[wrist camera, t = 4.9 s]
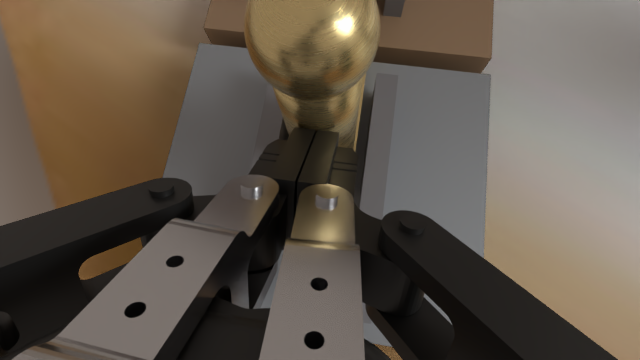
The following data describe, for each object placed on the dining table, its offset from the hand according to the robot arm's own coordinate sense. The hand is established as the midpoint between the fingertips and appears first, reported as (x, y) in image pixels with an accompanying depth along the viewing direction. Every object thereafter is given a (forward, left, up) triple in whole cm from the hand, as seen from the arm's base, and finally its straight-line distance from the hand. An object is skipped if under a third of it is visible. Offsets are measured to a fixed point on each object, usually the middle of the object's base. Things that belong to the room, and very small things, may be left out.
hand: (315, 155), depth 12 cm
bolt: (-3, -3, -6) cm, 7 cm away
